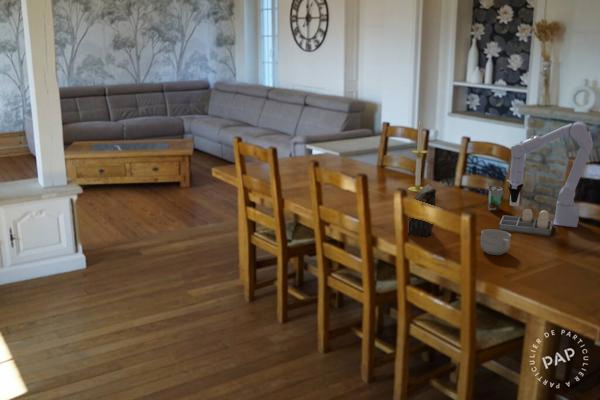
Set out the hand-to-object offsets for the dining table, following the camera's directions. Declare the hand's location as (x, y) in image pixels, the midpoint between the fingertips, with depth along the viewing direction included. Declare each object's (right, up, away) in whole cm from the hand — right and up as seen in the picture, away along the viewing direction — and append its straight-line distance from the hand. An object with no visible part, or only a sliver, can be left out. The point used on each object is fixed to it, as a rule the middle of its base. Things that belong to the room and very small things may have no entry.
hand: (514, 200), depth 281 cm
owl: (-46, -13, -16) cm, 50 cm away
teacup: (-21, -20, -41) cm, 51 cm away
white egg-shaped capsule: (0, -2, +1) cm, 2 cm away
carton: (+1, -12, -12) cm, 17 cm away
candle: (-34, +6, +50) cm, 61 cm away
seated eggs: (+4, -11, -14) cm, 18 cm away
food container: (-4, -4, +15) cm, 16 cm away
